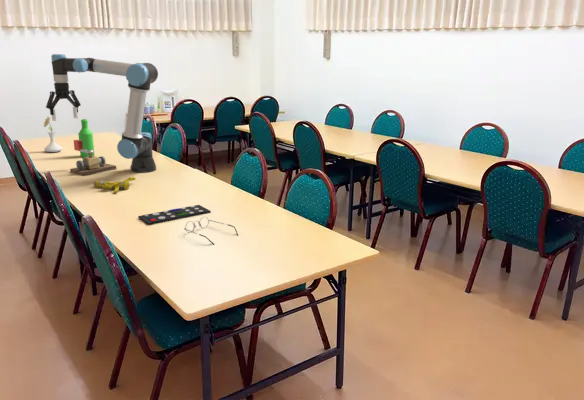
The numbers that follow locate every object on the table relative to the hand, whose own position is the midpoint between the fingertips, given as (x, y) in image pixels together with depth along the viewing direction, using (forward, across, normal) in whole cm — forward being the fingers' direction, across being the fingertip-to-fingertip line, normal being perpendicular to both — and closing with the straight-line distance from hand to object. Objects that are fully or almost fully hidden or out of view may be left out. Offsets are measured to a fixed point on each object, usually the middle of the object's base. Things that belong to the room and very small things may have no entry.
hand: (65, 119), depth 293 cm
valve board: (+31, -9, +10) cm, 33 cm away
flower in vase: (+31, -23, -57) cm, 69 cm away
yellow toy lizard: (+31, +7, +50) cm, 59 cm away
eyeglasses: (+32, +26, +139) cm, 145 cm away
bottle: (+31, -30, -27) cm, 51 cm away
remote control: (+32, +19, +110) cm, 116 cm away
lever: (+19, -7, +6) cm, 21 cm away
